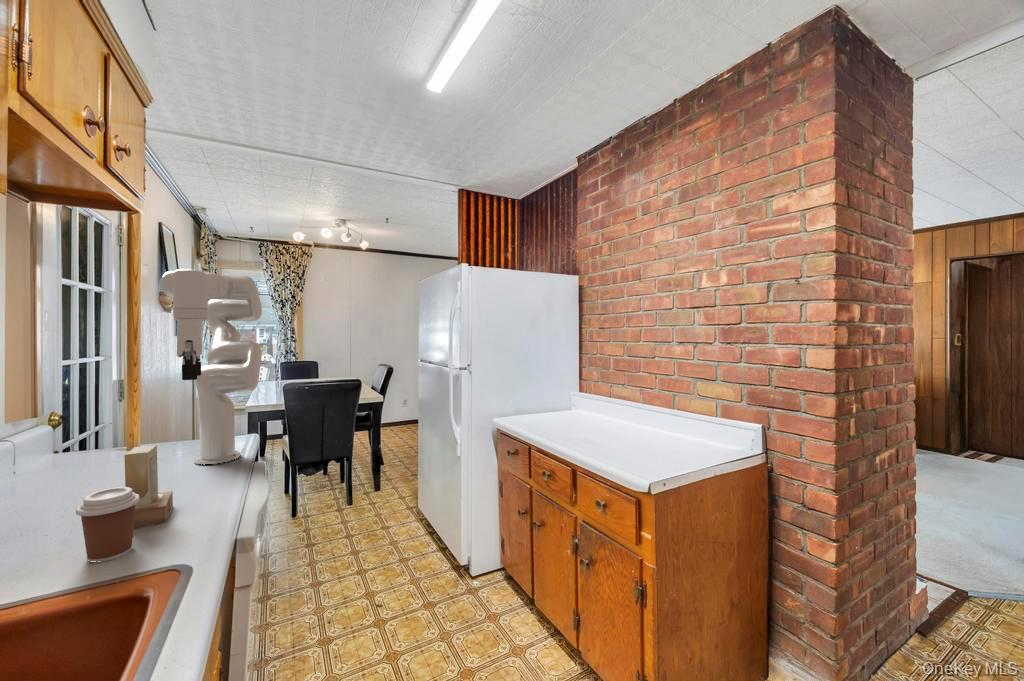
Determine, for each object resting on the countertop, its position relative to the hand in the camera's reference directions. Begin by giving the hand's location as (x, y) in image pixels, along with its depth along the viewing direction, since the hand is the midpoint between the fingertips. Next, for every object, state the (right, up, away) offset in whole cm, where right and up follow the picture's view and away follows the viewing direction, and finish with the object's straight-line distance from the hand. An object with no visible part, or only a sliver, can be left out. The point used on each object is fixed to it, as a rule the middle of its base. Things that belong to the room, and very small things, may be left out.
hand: (192, 377), depth 116 cm
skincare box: (+2, -27, -18) cm, 33 cm away
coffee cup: (+9, -32, -33) cm, 47 cm away
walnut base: (+2, -31, -18) cm, 36 cm away
